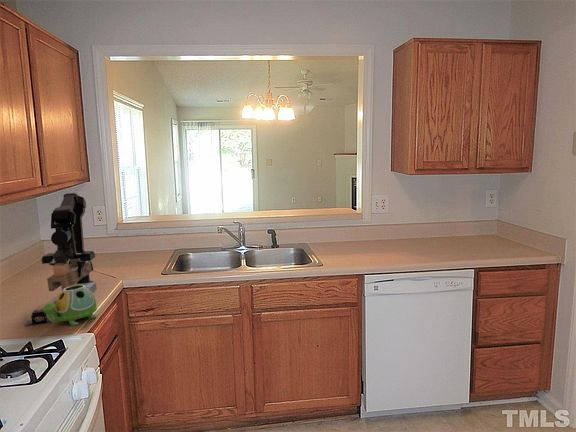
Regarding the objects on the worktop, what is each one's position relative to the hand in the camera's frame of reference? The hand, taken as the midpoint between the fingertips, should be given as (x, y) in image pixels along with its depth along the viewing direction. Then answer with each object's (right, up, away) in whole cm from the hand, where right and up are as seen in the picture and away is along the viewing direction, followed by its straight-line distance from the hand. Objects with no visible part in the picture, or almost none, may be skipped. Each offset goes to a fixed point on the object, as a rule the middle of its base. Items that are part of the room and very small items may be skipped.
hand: (71, 277), depth 173 cm
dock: (0, -9, +2) cm, 10 cm away
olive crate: (0, +5, +6) cm, 8 cm away
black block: (-2, -14, -19) cm, 23 cm away
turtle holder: (+11, -13, -19) cm, 25 cm away
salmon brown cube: (0, +2, -8) cm, 8 cm away
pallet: (0, -1, 0) cm, 1 cm away
